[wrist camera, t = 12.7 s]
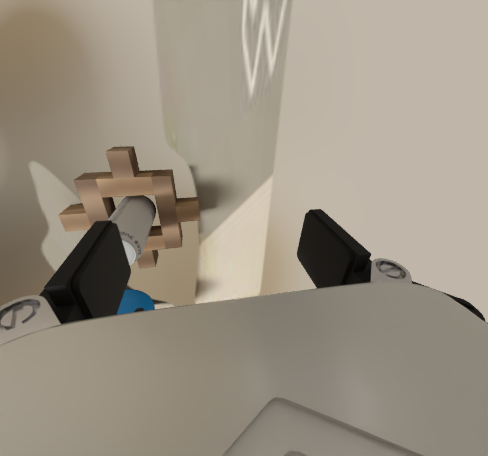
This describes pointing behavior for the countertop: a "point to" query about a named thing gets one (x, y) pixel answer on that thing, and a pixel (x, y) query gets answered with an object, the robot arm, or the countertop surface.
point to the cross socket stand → (132, 184)
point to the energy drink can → (134, 224)
